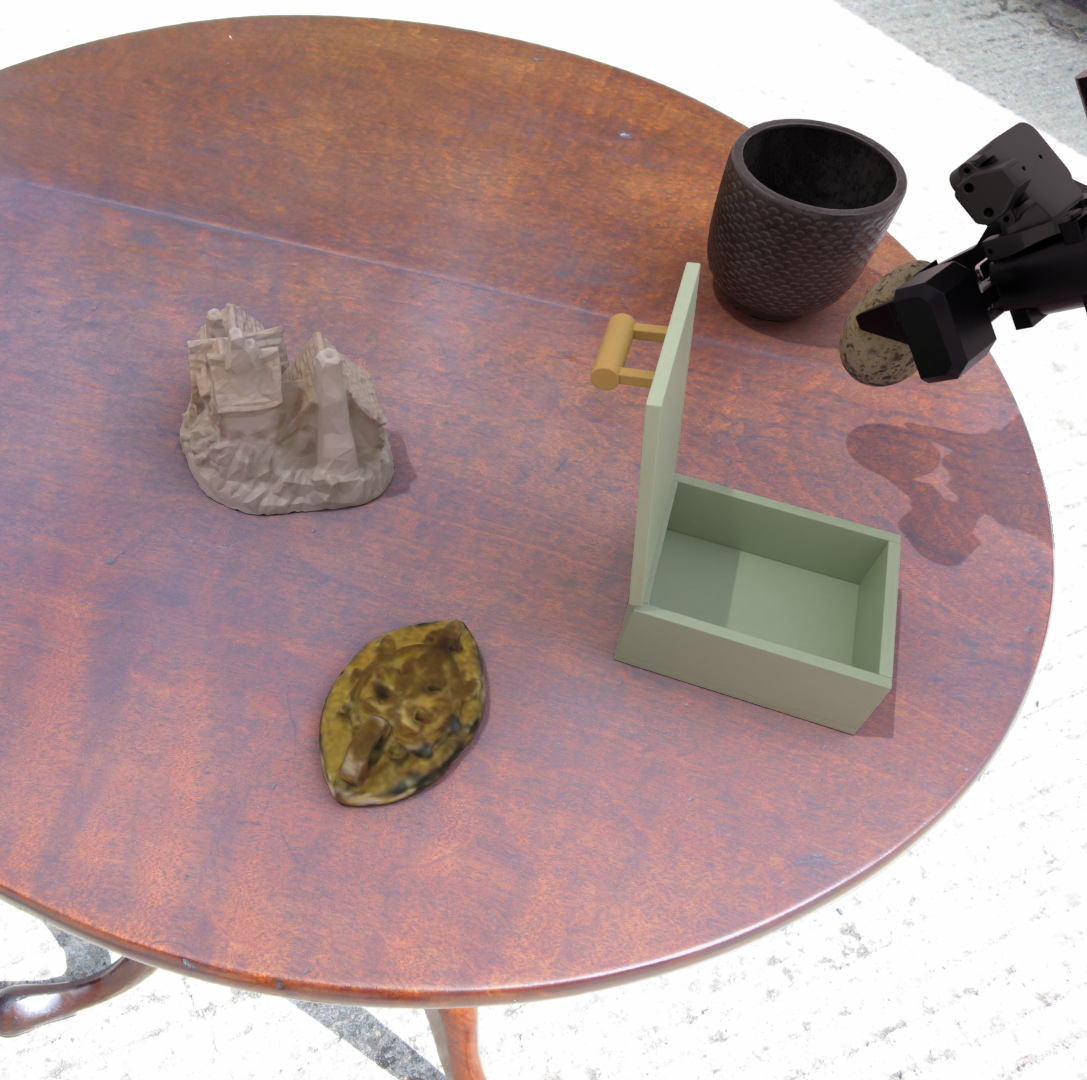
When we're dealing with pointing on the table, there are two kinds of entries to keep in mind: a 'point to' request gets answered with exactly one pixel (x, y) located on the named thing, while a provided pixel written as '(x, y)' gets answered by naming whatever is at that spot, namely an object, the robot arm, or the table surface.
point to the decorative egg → (872, 353)
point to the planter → (800, 215)
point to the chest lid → (652, 411)
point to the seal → (401, 712)
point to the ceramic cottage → (281, 421)
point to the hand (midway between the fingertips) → (882, 304)
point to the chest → (768, 605)
